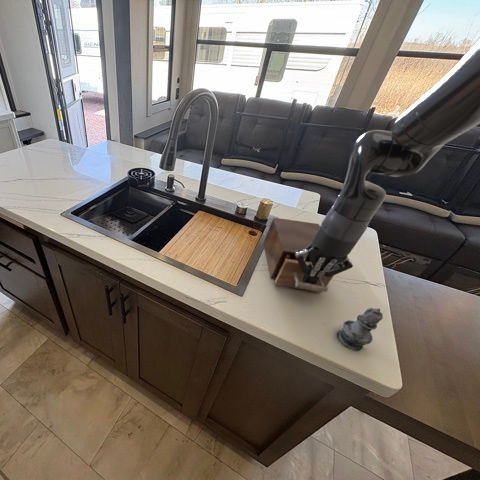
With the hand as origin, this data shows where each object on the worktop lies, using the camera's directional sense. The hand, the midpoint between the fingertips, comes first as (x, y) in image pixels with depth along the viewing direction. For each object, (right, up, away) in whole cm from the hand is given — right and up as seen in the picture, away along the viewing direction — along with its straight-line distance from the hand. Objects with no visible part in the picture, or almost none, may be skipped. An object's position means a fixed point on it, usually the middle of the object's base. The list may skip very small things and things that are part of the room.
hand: (307, 283), depth 65 cm
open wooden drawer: (+1, +1, +9) cm, 9 cm away
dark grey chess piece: (+6, -12, -6) cm, 15 cm away
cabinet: (+2, +4, +14) cm, 15 cm away
